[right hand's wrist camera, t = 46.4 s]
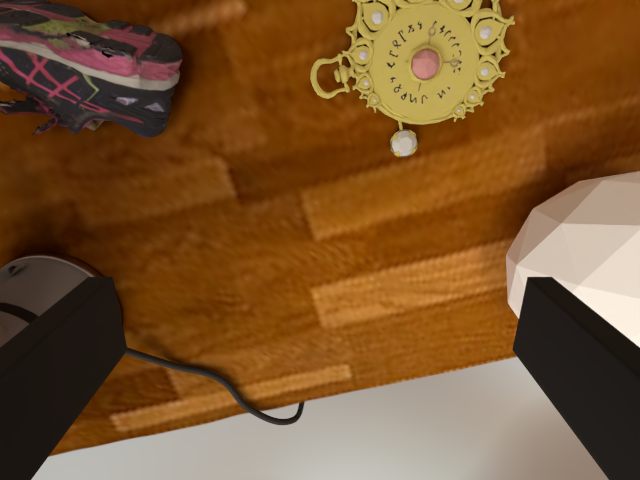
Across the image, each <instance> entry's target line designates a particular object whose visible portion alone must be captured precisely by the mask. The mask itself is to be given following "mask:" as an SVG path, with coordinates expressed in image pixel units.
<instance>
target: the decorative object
mask: <svg viewBox="0 0 640 480" xmlns="http://www.w3.org/2000/svg"><path fill="white" fill-rule="evenodd" d="M352 1H354V2H356V3H357V5H358V10H357V15H356V19H355V23H354V24H353V26H352V27H347V28H346V33H347V34H349V35H350V36H351V38H352V44H351V47H350V49H349V50H348V51H347V52H345V51H344V50H343V51H342V53H343V54H342V55H341V54H338V56H337V57H335V58H333V59H325V58H322V59H319V60H317V61H316V62H315V63H314V65H313V67H312V70H311V78H310V79H311V82H312V86H313V88H314V90H315V91H316V93H317V94H318V95H319V96H321V97H323V98H326V99H329V98H331V97H333V96H335V95H336V94H337V93H338V92H343V91H346V92H347V93H348V92H350V89H349V86H348V85H347V84H346V82H347V81H348V79H349V77H351V76H352V77H353V78H354V77H355V78H356V85H355V86H352V87H353V90H355V89H358V90H359V91H360V92H361V96H360V97H359V98H360V99H362V98H364V99H367V103H368V104H367V105H366V106H367V108H368V107H369V106H370V107H373V109H374V112H376V108H378V109H379V110H380V111H381V112H383V113H384V114H386V115H388V116H389V117H391V118H393V119H395V120H398V124H399V129H400V130H399V131H397V132H395V134H394V135H393V137H392V138H391V140H390V144H391V151H392V152H393V153H394V154H395V155H396V156H398V157H408V156H410V155H412V154H413V153H414V152H415V151H416V149H417V145H418V143H417V137H416V135H415V133H414V132H412V131H411V130H405V129H403V128H402V123H401V122H405V123H409V124H430V123H437V122H441V121H443V120H446V119H449V118H452V117H455V119H454V122H455V121H456V119H457V118H458V117H462V119H464V118H465V116H464V115H465V112H466V111H470V112H472V113H473V112H474V109H473V107H474V106H476V105H478V104H480V105H481V106H482V105H483V103H484V102H482V97H483V95H484V94H485V93H487V92H493V91H494V90H495V89H494V88H493V87H492V83H493V82H494V81H495V80H496V79H497V78H498V77H502V78H504V77H505V76H504V74H505V73H506V72H501V71H500V68H499V64H498V62H499V61H500V60H501V58H502V57H504V56H506V55H508V54H509V52H510V50H508V49H507V48H506V47H505V45H504V41H503V39H504V37H505V33H506V29H507V27H508V26H509V25H510V24H515V21H513V18H514V17H513V16H511V17H510V18H509V19H504V18H503V17H502V14H501V8H500V5H499V2H498V1H499V0H491V2H492V5H493V11H492V10H491V9H490V8H484V9H480V6H481V3H482V1H483V0H473V2H472V5H471V7H469V8H468V9H466V10H463V9H465V8H466V7H467V6H468V5H469V4H470V2H471V1H472V0H439V1H434V0H405V1H404V0H373V3H368V2H369V1H370V0H352ZM378 1H380V2H382V3H383V4H385V5H387V6H388V7H389V12H388V11H387V9H386V7H385V6H384V5H382V4H380V3H379V2H378ZM361 2H362V4H361ZM396 5H397V6H398V7H401V8H399V9H398V10H396ZM479 9H480V10H479ZM461 10H462V11H461ZM362 14H363V15H364V16H363V17H362ZM388 16H389V17H388ZM471 16H472V19H471V24H470V23H469V22H468V21H467V19H466V18H465V17H471ZM486 17H492V19H486V20H481V21H479V19H482V18H486ZM495 18H496V21H495ZM363 19H364V22H365V23H366V25H367V26H368V28H369V29H370V30H372V31H377V32H370V31H369V30H368V28H367V27H366V25H365V24H364V22H363V21H362V20H363ZM478 21H479V22H478ZM477 22H478V23H477ZM504 23H505V24H504ZM476 24H477V25H476ZM503 26H504V27H503ZM352 30H353V31H352ZM358 30H359V33H360V34H361V35H362V36H363V38H359V39H357V31H358ZM349 31H352V33H351V32H349ZM496 38H497V41H496V42H494V43H493V44H492V45H491V46H489V47H488V48H483V47H481V46H486V45H489V44H490V43H492V42H493V41H495V39H496ZM356 39H357V40H356ZM371 40H373V41H372V42H371ZM363 44H366V45H367V46H368V47H369V48H368V47H366V46H364V45H363ZM358 45H362V46H360V47H357V46H358ZM501 50H503V51H504V52H505V53H504V54H501ZM350 52H351V53H350ZM494 52H495V57H494V56H493V55H491V54H493V53H494ZM479 53H480V54H481V55H483V56H482V57H481V58H480V59H479ZM344 56H346V57H347V58H348V60H349V62H350V64H351V67H350V68H347V67H346V66H344V65H343V66H342V57H344ZM351 57H352V58H351ZM336 61H339V64H340V67H339V71H338V70H337V69H336V70H335V71H334V75H335V80H336V81H337V83H338V82H340V80H341V81H342V83H344V88H340V89H336V90H334V91H333V92H331V93H326V92H324V91H323V90H322V89H321V88H320V87H319V85H318V82H317V71H318V69H319V67H320V65H322V64H329V63H334V62H336ZM485 61H488V62H485ZM482 62H485V63H482ZM489 62H490V63H492V64H490V63H489ZM358 64H359V65H358ZM365 64H366V65H365ZM361 65H365V67H364V66H361ZM496 69H497V71H498V72H496ZM353 70H354V71H355V73H354V71H353ZM367 71H368V73H367ZM495 75H496V76H495ZM364 76H366V77H364ZM494 76H495V77H494ZM492 77H494V78H493V79H492V80H491V78H492ZM479 80H481V82H480V81H479ZM474 83H475V86H474V87H472V86H473V84H474ZM486 87H489V89H487V90H485V88H486ZM368 88H369V89H368ZM474 90H476V91H474ZM371 92H372V93H371ZM364 94H365V95H366V96H367V97H366V96H364ZM363 96H364V97H363ZM479 96H480V98H479ZM462 102H463V104H462ZM475 102H477V103H475ZM467 107H471V108H470V109H471V110H470V109H466V108H467Z"/></svg>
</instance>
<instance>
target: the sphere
mask: <svg viewBox="0 0 640 480" xmlns="http://www.w3.org/2000/svg"><path fill="white" fill-rule="evenodd" d="M506 269H507V292H508V304H509V305H510V307H511V308H512V310H513V311H514V313H515V314H516V315H517V317H518V318H519V316H520V311H521V306H522V302H523V297H524V292H525V287H526V282H527V277H553V278H554V279H555V280H556V281H558V282H559V283H560V284H561V285H563V286H564V287H565V288H566V289H568V290H569V291H570V292H571V293H573V294H574V295H575V296H576V297H577V298H579V299H580V300H581V301H582V302H584V303H585V304H586V305H587V306H589V307H590V308H591V309H592V310H594V311H595V312H596V313H597V314H599V315H600V316H601V317H602V318H604V319H605V320H606V321H607V322H609V323H610V324H611V325H612V326H614V327H615V328H616V329H617V330H619V331H620V332H621V333H622V334H624V335H625V336H626V337H627V338H629V339H630V340H631V341H632V342H634V343H635V344H636V345H637V346H639V347H640V171H637V172H631V173H625V174H619V175H613V176H607V177H601V178H595V179H589V180H583V181H578V182H577V183H575V184H573V185H572V186H570V187H568V188H567V189H565V190H563V191H562V192H560V193H558V194H557V195H555V196H553V197H552V198H550V199H548V200H547V201H545V202H543V203H542V204H540V205H538V206H537V207H535V208H533V209H532V211H531V213H530V214H529V216H528V218H527V219H526V221H525V223H524V225H523V226H522V228H521V230H520V231H519V233H518V235H517V236H516V238H515V240H514V241H513V243H512V245H511V247H510V248H509V250H508V252H507V253H506Z"/></svg>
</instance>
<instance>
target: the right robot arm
mask: <svg viewBox="0 0 640 480" xmlns="http://www.w3.org/2000/svg"><path fill="white" fill-rule="evenodd" d="M513 351H514V352H515V354H516V355H517V357H518V358H519V359H520V361H521V362H522V363H523V365H524V366H525V367H526V369H527V370H528V371H529V373H530V374H531V375H532V377H533V378H534V379H535V381H536V382H537V383H538V385H539V386H540V387H541V389H542V390H543V391H544V393H545V394H546V396H547V397H548V398H549V400H550V401H551V402H552V404H553V405H554V406H555V408H556V409H557V410H558V412H559V413H560V414H561V416H562V417H563V418H564V420H565V421H566V422H567V424H568V425H569V426H570V428H571V429H572V430H573V432H574V433H575V435H576V436H577V437H578V439H579V440H580V441H581V443H582V444H583V445H584V447H585V448H586V449H587V451H588V452H589V453H590V455H591V456H592V457H593V459H594V460H595V461H596V463H597V464H598V465H599V467H600V468H601V469H602V471H603V472H604V474H605V475H606V476H607V478H608V479H609V480H640V347H639V346H637V345H636V344H635V343H634V342H632V341H631V340H630V339H629V338H627V337H626V336H625V335H624V334H622V333H621V332H620V331H619V330H617V329H616V328H615V327H614V326H612V325H611V324H610V323H609V322H607V321H606V320H605V319H604V318H602V317H601V316H600V315H599V314H597V313H596V312H595V311H594V310H592V309H591V308H590V307H589V306H587V305H586V304H585V303H584V302H582V301H581V300H580V299H579V298H577V297H576V296H575V295H574V294H573V293H571V292H570V291H569V290H568V289H566V288H565V287H564V286H563V285H561V284H560V283H559V282H558V281H556V280H555V279H554V278H553V277H527V282H526V287H525V292H524V297H523V302H522V306H521V311H520V316H519V321H518V326H517V331H516V336H515V341H514V346H513ZM124 354H127V355H130V356H133V357H136V358H139V359H142V360H146V361H149V362H152V363H155V364H158V365H162V366H165V367H168V368H172V369H175V370H179V371H184V372H189V373H195V374H200V375H204V376H207V377H210V378H212V379H214V380H216V381H218V382H220V383H221V384H222V385H224V386H225V387H226V388H227V389H228V390H229V391H230V393H231V394H232V395H233V397H234V398H235V400H236V401H237V402H238V403H239V405H240V406H241V407H242V408H244V409H245V410H246V411H248V412H249V413H251V414H253V415H255V416H256V417H258V418H260V419H262V420H264V421H267V422H269V423H272V424H277V425H288V424H292V423H294V422H296V421H297V420H298V419H299V418H300V417H301V415H302V412H303V408H304V403H305V402H301V403H299V406H298V410H297V413H296V415H295V416H293V417H291V418H289V419H278V418H273V417H271V416H268V415H266V414H264V413H262V412H260V411H258V410H256V409H255V408H253V407H251V406H250V405H249V404H247V403H246V402H245V401H244V400H243V399H242V397H241V396H240V395H239V393H238V392H237V390H236V389H235V388H234V386H233V385H232V384H231V383H230V382H229V381H228V380H226V379H225V378H223V377H222V376H220V375H218V374H216V373H214V372H211V371H209V370H205V369H201V368H197V367H191V366H186V365H181V364H177V363H174V362H170V361H167V360H164V359H161V358H158V357H154V356H151V355H148V354H145V353H142V352H139V351H136V350H133V349H130V348H127V346H126V341H125V336H124V331H123V326H122V310H121V306H120V302H119V300H118V297H117V295H116V292H115V287H114V282H113V277H103V276H102V275H101V274H100V273H98V272H97V271H96V270H95V269H93V268H92V267H90V266H89V265H87V264H86V263H84V262H82V261H80V260H78V259H76V258H73V257H70V256H67V255H63V254H59V253H52V252H38V253H31V254H28V255H24V256H22V257H19V258H18V259H16V260H14V261H12V262H10V263H8V264H7V265H5V266H4V267H2V268H1V269H0V480H31V479H32V477H33V476H34V475H35V474H36V472H37V471H38V470H39V468H40V467H41V465H42V464H43V463H44V461H45V460H46V459H47V457H48V456H49V455H50V453H51V452H52V451H53V449H54V448H55V447H56V445H57V444H58V443H59V441H60V440H61V439H62V437H63V436H64V435H65V433H66V432H67V430H68V429H69V428H70V426H71V425H72V424H73V422H74V421H75V420H76V418H77V417H78V416H79V414H80V413H81V412H82V410H83V409H84V408H85V406H86V405H87V404H88V402H89V401H90V400H91V398H92V397H93V396H94V394H95V393H96V391H97V390H98V389H99V387H100V386H101V385H102V383H103V382H104V381H105V379H106V378H107V377H108V375H109V374H110V373H111V371H112V370H113V369H114V367H115V366H116V365H117V363H118V362H119V361H120V359H121V358H122V357H123V355H124Z"/></svg>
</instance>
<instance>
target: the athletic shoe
mask: <svg viewBox="0 0 640 480" xmlns="http://www.w3.org/2000/svg"><path fill="white" fill-rule="evenodd" d="M181 62H182V51H181V49H180V47H179V46H178V44H177V43H176V42H175V41H174V40H173V39H172V38H171V37H170V36H168V35H165V34H162V33H159V34H158V35H157V34H156V33H155V32H154V31H153V30H152V29H151V28H149V27H147V26H143V25H140V24H139V25H137V26H135V27H133V26H132V25H131V24H130V23H128V22H123V21H119V20H117V21H116V20H113V21H110V22H107V23H106V22H104V23H103V24H102V23H96V22H95V21H93V20H91V19H90V18H88V17H87V16H85V15H84V14H82V12H81V10H79V9H78V8H73V7H72V5H70V6H64V5H63V4H61V3H59V2H58V3H54V4H51V3H50V2H49V1H45V0H0V81H1V82H2V83H4V84H6V85H8V86H10V88H11V89H15V90H16V91H17V92H19V93H24V94H30V95H31V96H26V100H25V101H7V102H2V101H0V111H1V112H2V113H4V114H43V115H47V116H52V117H53V118H51V119H50V120H49V121H48V122H47V124H43V125H41V126H38V127H37V129H36V132H35V133H32V135H35V134H41V133H43V132H46V131H48V130H50V129H51V128H52V127H53V126H55V125H56V123H57V122H58V124H59V125H60V126H61V127H67V128H68V129H69V131H70V132H71V133H76V134H77V133H78V132H79V131H81V130H82V129H83V128H84V127H87V128H89V129H92V130H95V129H97V128H98V127H99V126H100V125H101V124H102V123H103V122H104V121H105V120H106V121H113V122H115V123H117V124H120V125H122V126H125V127H126V128H128V129H129V130H131V131H132V132H134V133H136V134H137V135H139V136H141V137H143V138H147V137H154V136H156V135H158V134H160V133H162V132H163V130H164V129H165V127H166V125H167V121H168V117H169V115H170V114H171V113H170V110H171V106H172V101H171V98H170V97H171V96H172V95H173V94H174V92H175V84H176V83H178V80H179V76H180V72H179V67H180V64H181ZM14 100H15V99H14Z"/></svg>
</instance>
